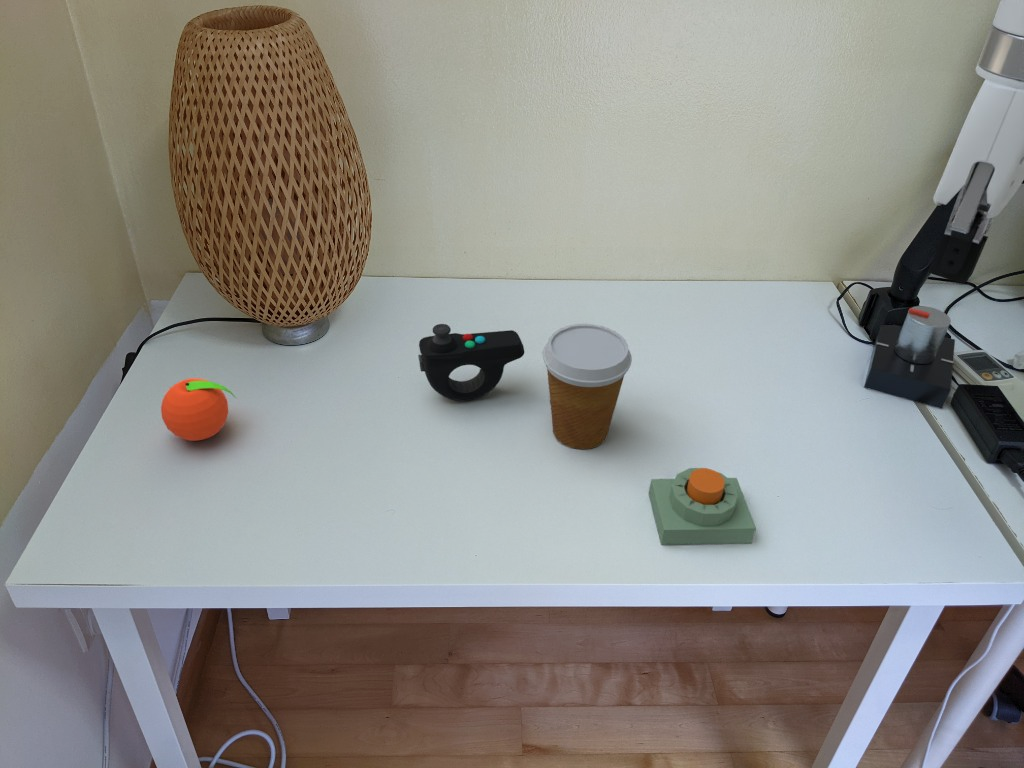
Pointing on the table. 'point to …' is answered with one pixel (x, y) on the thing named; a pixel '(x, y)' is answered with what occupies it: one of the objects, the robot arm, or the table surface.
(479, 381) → the controller
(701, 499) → the button
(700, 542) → the box
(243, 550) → the table surface
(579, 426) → the disposable coffee cup
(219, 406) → the clementine
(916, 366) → the dial panel
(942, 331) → the dial
